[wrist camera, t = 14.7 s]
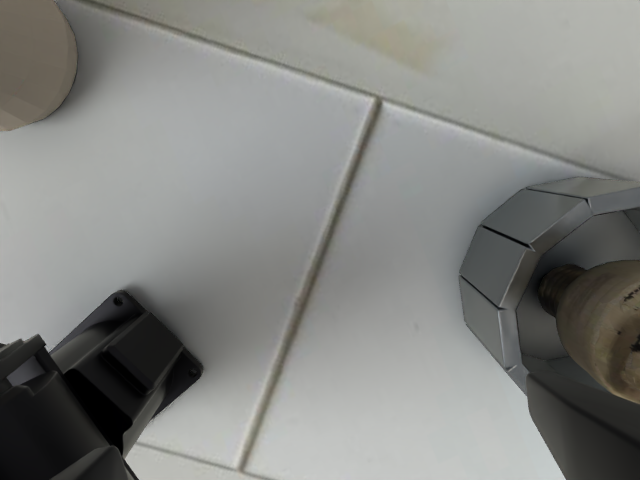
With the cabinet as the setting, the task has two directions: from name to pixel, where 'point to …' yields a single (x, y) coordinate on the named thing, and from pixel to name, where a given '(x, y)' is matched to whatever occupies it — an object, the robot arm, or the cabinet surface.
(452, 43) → the cabinet surface
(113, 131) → the cabinet surface
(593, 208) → the faceted gray ring
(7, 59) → the decorative mushroom
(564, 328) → the light bulb
